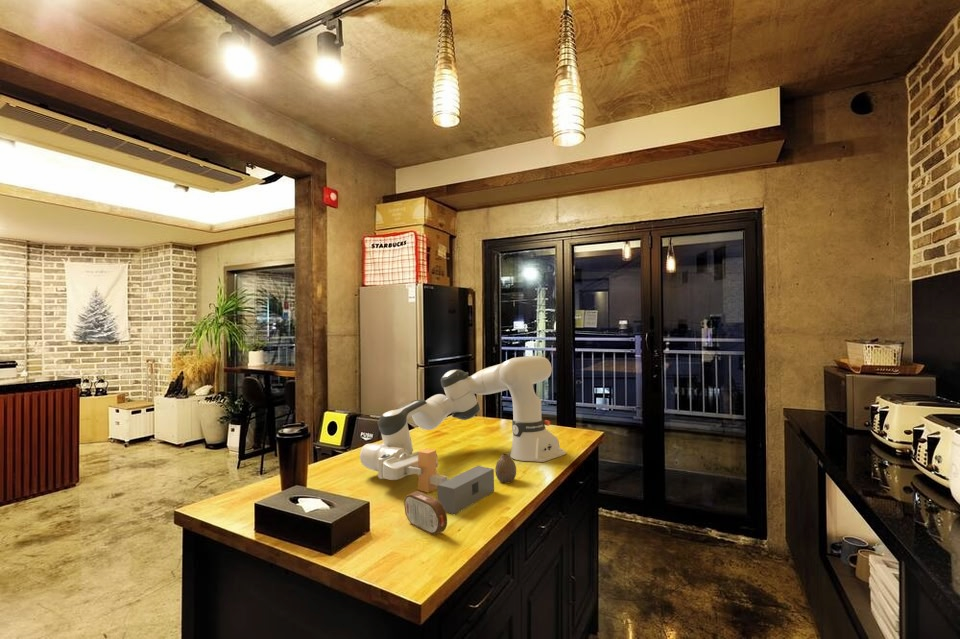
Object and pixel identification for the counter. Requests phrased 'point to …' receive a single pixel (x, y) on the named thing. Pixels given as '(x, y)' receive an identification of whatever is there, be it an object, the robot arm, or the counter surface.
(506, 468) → the vase
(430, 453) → the plug
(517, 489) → the counter surface
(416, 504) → the tin
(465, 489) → the block
